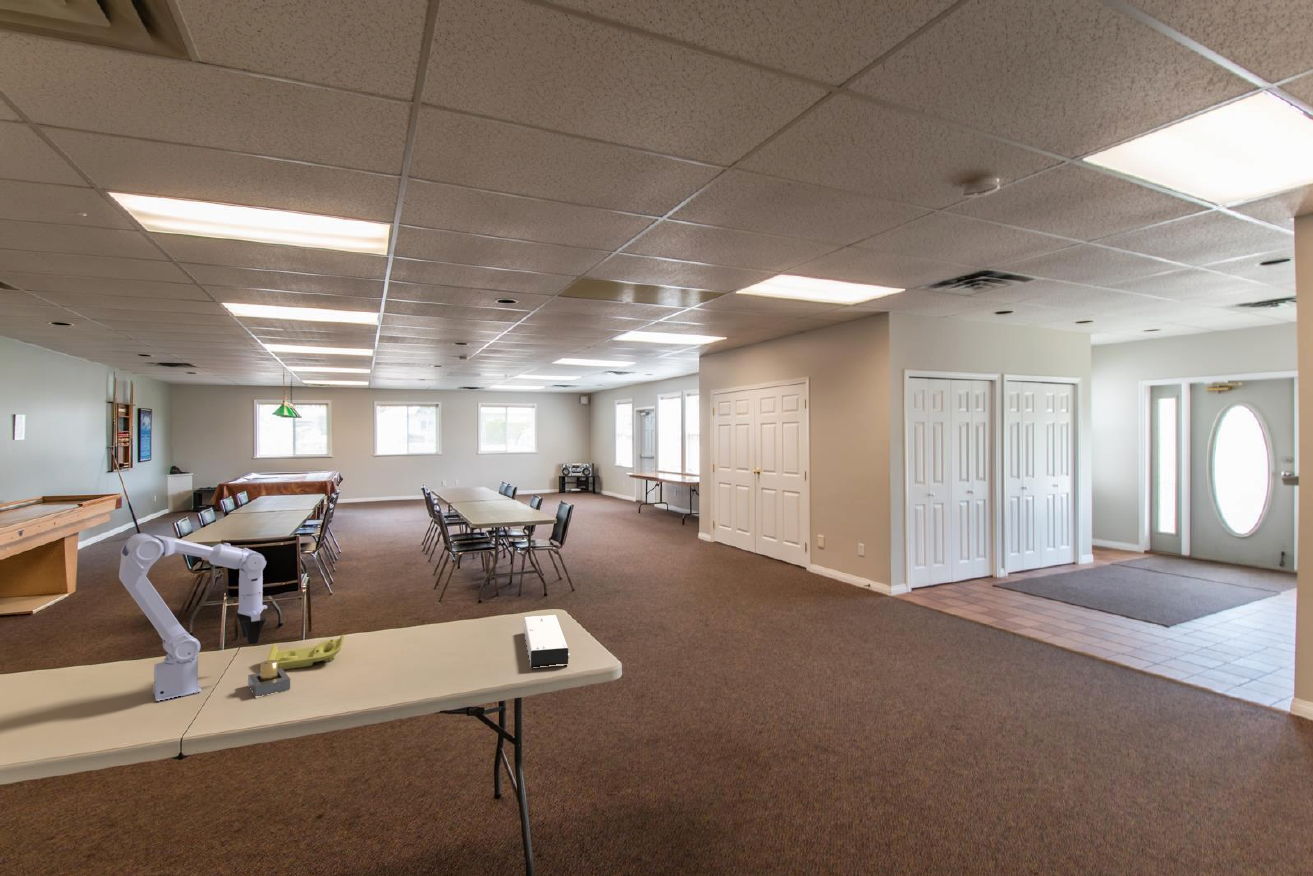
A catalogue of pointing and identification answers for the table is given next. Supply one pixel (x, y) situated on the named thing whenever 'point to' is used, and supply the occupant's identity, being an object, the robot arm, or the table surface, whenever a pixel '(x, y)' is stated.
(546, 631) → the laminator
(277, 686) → the frame
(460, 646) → the table surface
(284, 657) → the plastic component
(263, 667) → the gold metal cylinder
